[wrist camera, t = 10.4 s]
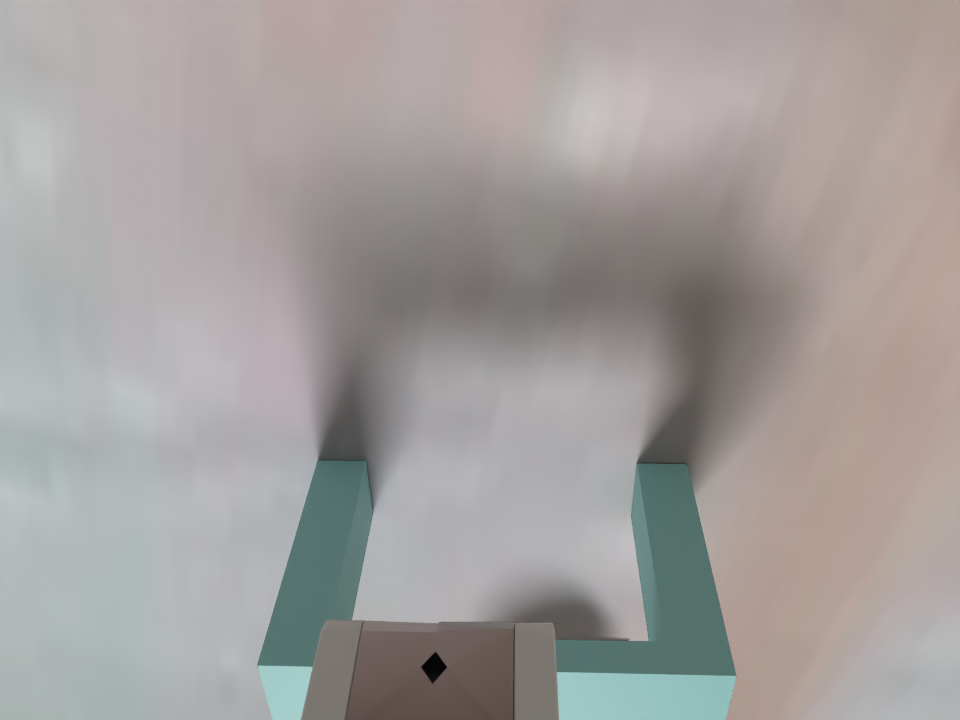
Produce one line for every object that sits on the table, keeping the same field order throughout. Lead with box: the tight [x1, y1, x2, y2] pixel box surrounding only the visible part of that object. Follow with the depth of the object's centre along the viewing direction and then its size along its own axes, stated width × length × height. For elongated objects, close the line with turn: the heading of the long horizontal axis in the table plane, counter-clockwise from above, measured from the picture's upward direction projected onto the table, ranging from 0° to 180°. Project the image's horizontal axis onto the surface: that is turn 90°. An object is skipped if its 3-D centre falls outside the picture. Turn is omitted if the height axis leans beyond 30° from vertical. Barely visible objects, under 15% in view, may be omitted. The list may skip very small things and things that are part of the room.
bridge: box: [257, 460, 736, 720], centre depth 31 cm, size 3×15×10 cm, turn 91°
